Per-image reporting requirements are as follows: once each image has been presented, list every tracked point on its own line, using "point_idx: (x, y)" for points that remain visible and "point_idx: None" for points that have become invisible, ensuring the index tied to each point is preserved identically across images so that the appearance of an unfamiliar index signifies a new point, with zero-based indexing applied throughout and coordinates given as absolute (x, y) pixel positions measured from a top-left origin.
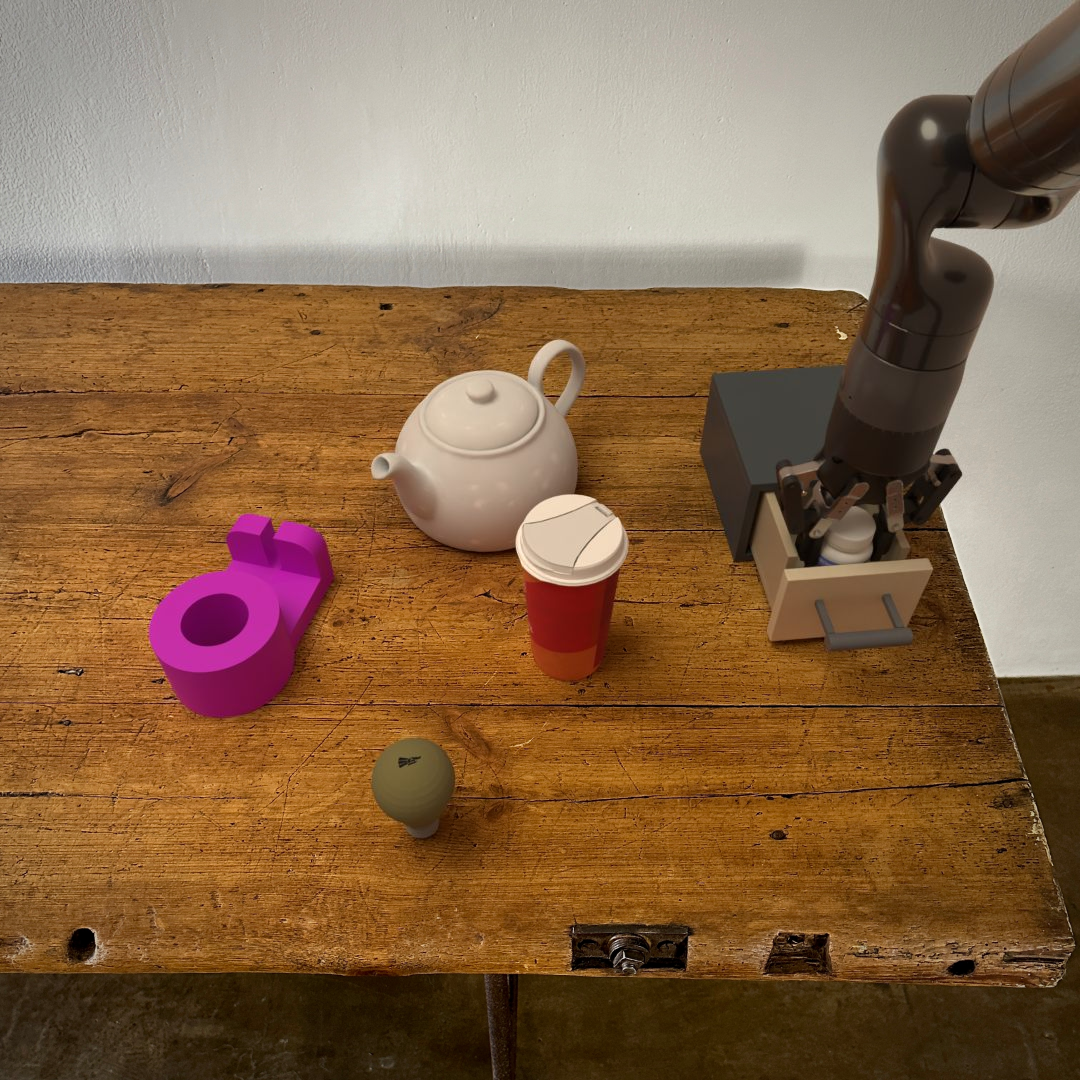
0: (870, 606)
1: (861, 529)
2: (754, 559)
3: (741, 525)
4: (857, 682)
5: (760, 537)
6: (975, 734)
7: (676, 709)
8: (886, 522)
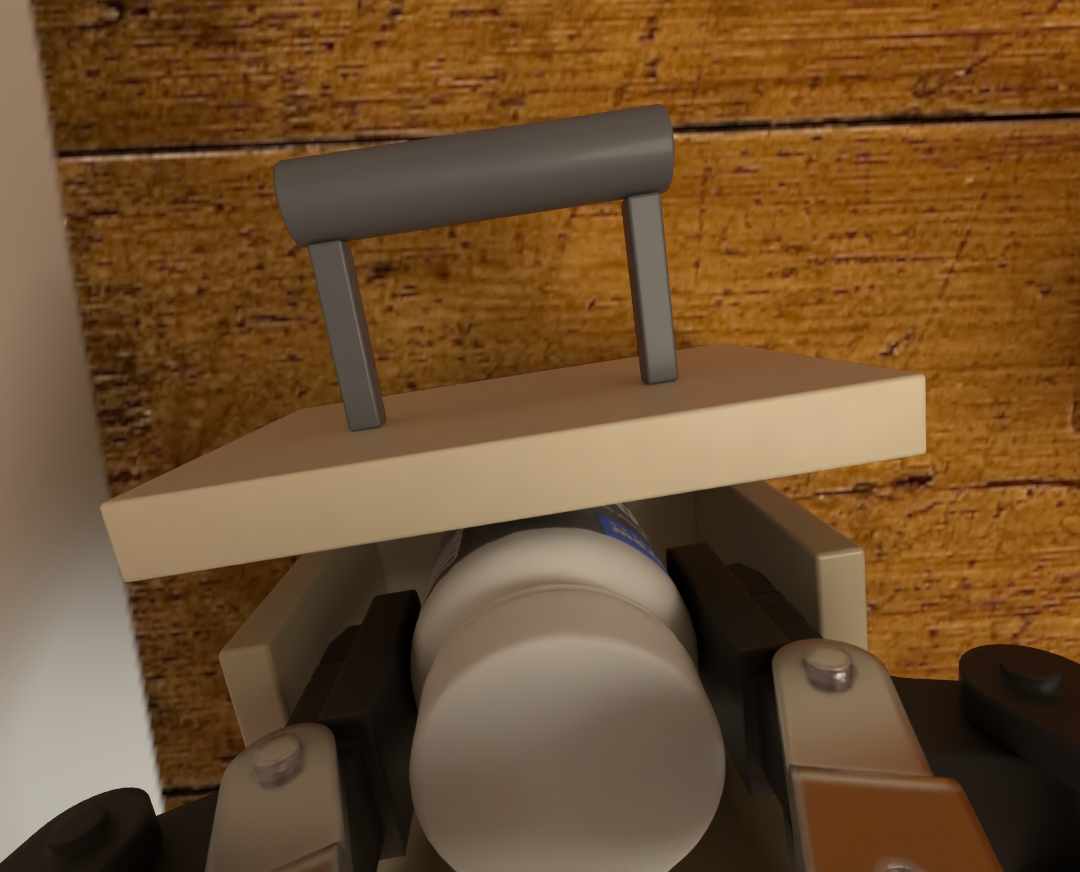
0: (427, 408)
1: (511, 727)
2: None
3: None
4: (467, 227)
5: None
6: (122, 37)
7: (1014, 104)
8: (343, 793)
